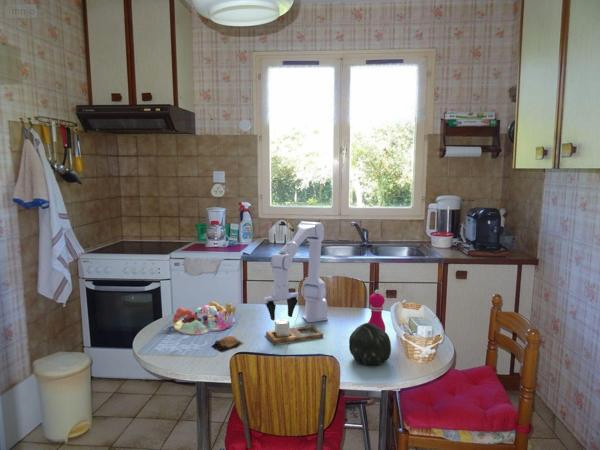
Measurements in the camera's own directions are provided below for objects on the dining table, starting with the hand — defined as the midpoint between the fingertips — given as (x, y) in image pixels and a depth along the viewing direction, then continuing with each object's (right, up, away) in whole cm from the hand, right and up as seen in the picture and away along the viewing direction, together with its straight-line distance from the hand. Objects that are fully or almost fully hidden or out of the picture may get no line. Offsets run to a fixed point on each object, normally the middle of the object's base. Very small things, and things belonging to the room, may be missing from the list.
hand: (281, 318), depth 170 cm
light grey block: (0, -8, +1) cm, 8 cm away
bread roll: (-20, -10, -5) cm, 23 cm away
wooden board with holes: (+5, -8, +3) cm, 10 cm away
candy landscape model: (-33, -7, +17) cm, 38 cm away
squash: (+32, -11, -19) cm, 39 cm away
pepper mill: (+37, -9, 0) cm, 38 cm away
